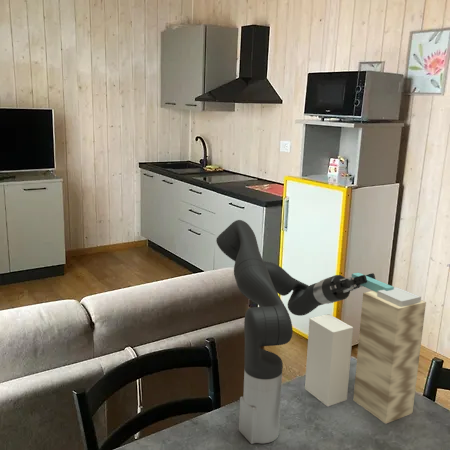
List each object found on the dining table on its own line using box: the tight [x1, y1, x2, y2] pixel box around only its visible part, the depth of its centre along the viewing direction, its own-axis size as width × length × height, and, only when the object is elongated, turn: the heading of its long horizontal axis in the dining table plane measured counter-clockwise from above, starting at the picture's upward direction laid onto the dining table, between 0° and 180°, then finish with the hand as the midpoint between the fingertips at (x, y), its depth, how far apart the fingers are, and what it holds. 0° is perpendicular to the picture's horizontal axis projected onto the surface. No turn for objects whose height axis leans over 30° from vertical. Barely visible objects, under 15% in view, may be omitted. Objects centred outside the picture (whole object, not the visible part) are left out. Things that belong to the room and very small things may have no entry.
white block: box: [304, 314, 354, 407], centre depth 140 cm, size 7×10×22 cm
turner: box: [351, 272, 422, 307], centre depth 134 cm, size 7×20×2 cm, turn 29°
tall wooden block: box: [353, 290, 427, 425], centre depth 134 cm, size 10×12×32 cm
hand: (369, 277), depth 137 cm, fingers closed on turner, 2 cm apart
